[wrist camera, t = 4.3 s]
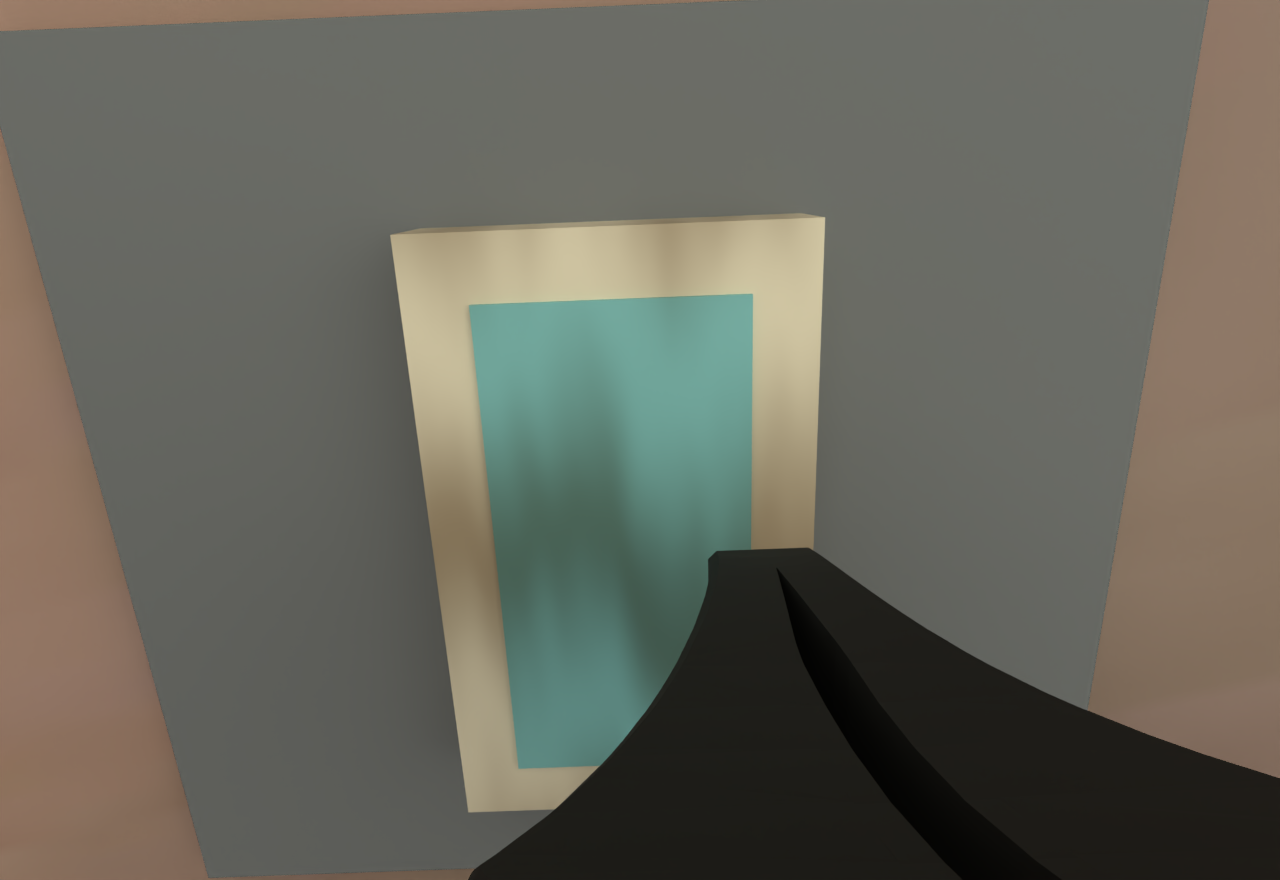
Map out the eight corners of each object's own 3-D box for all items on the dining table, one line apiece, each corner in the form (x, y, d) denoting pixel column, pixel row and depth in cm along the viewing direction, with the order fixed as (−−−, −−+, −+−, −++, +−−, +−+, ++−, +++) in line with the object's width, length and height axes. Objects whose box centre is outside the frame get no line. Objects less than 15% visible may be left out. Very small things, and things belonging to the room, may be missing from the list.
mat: (1049, 824, 17) (1064, 847, 16) (222, 854, 17) (208, 877, 16) (1184, -10, 12) (1211, -20, 11) (5, 39, 12) (-27, 32, 11)
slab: (805, 804, 14) (467, 816, 14) (787, 739, 15) (484, 750, 15) (827, 217, 11) (387, 235, 11) (800, 213, 12) (420, 227, 12)
